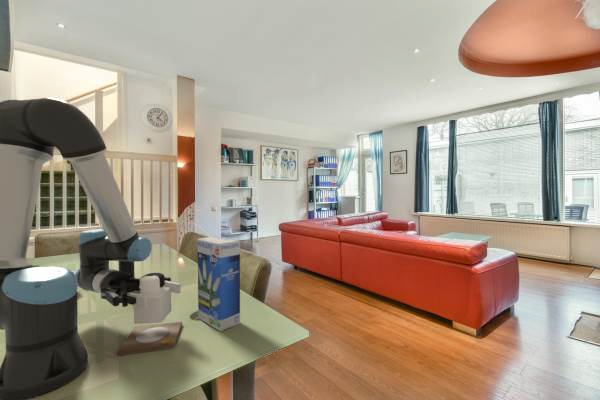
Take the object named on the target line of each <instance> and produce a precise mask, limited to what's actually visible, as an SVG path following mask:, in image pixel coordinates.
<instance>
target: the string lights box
mask: <svg viewBox="0 0 600 400" xmlns="http://www.w3.org/2000/svg"><path fill="white" fill-rule="evenodd" d="M196 240H197V298H198V299H197V301H198V302H197V305H198V306H197V307H198V308H197V310H198V311H197V312H198V315H197V316H198V319H199V320H201V321H203V322H204V323H206V324H208V325H209V326H210V327H213V328H214V329H216V331H219V332H222V331H225V330H227V329H230V328H232V327H235V326H237V325H240V323H241V241H240V240H234V239H231V238H227V237H220V236H217V235H216V236H209V237H200V238H197V239H196Z"/></svg>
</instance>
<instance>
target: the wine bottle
mask: <svg viewBox="0 0 600 400" xmlns="http://www.w3.org/2000/svg"><path fill="white" fill-rule="evenodd" d="M117 262H118V263H117V264H118V271H122V272H127V273H129V274H130V275H131V276H132V277H133V278H136V276H135V275H136V274H135V262H129V261H117Z"/></svg>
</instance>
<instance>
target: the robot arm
mask: <svg viewBox="0 0 600 400" xmlns="http://www.w3.org/2000/svg"><path fill="white" fill-rule="evenodd" d="M55 148H56V149H57V150H58V151H59V152H60V155H61V157H62V158H63V160H66V161H68V162H70V165H72V168H73V170H74V172H75V174H76V176H77V178H78V180H79V182H80V184H81V186H82V188H83V190H84V193H85V194H86V196H87V198H88V200H89V203H90V204H91V207H92V208H93V211H94V213H95V215H96V217H97V219H98V221H99V224H101V228H102V229H101V228H100V229H98V228H97V229H89V230H84V231H81V232H80V233H79V235H78V250H79V251H78V253H79V254H78V255H79V268H78V269H77V270H76V271H77V272H76V274H74V273H73V272H72V271H73V270H71V269H69V268H66V267H61V266H46V267H45V266H36V267H33V266H34V264H33V263H32V262H31V261H30V260H28V258H27V254H28V250H29V249H28V248H29V244H30V238H31V233H32V227H33V221H34V215H35V209H36V205H37V201H38V194H39V188H40V183H41V177H42V171H43V166H44V164H45V163H47V162H50V161H51V160H53V156H54V150H55ZM106 151H107V146H106V143H105V141H104V138H103V137H102V135H101V133H100V131H99V129H98V128H97V127H96V126H95V124H94V123H93V122H92V120H91V119H90V118H89V117H88V116H87V115H86V113H84V112H83V111H81V110H80V109H79V108H78V107H77V106H75V105H74V104H72V103H70V102H67V101H65V100H64V99H59V98H55V97H41V98H40V97H39V98H32V99H6V100H2V101H0V331H2V330H3V331H4V333H5V334H4V335H5V337H4V338H5V340H4V341H5V354H4V357H3V360H2V362H1V365H0V400H27V399H31V398H34V397H37V396H38V397H39V396H41V395H44V394H47V393H49V392H52V391H54V390H56V389H59V388H61V387H63V386H64V385H66V384H68V383H70V382H71V381H73V380H75V379H76V378H78V377H79V376H80V375H81V374H82V373H84V371H85V370H86V368H88V365H89V353H88V350H87V348H86V346H85V344H84V342H83V339H82V338H81V336H80V334H79V331H78V330H79V329H78V327H79V325H78V292H77V290H78V289H77V286H78V288H81V289H82V290H83V291H88V292H93V293H97V294H100V299H104V300H106V301H107V302H109V304H110V305H112V306H113V307H118V306H120V304H122V305H121V306H122V307H121V308H127V307H128V305H132V306H134V305H136V306H140V307H143V308H146V307H148V304H147V296H143V295H139V293H134V292H140V278H141V277H139V278H138V277H137V278H136V277H135V278H133V277H132V276H131V275H130V274H129V273H127V272H122V271H119V269H118V270H117V269H112V268H110V261H113V262H115V261H117V262H118V261H129V262H134V263H135V262H144V261H145V260H147V259H148V257H150V255H151V254H152V247H153V245H152V242H151V240H150V239H149V238H148V237H144V236H139V233H138V230H137V229H136V226H135V222H134V221H133V218H132V217H131V213H130V211H129V209H128V206H127V205H126V202H125V200H124V197H123V195H122V193H121V190H120V189H119V185H118V184H117V183H118V182H117V181H116V179H115V176H114V174H113V171H112V169H111V167H110V165H109V162H108V160H107V157H106V155H105V153H106ZM164 277H165V287H170V288H171V293H174V294H181V293H182V292H181V290H182V289H181V283H178V282H173V281H172V278H171V277H169V276H168V277H167V276H164Z"/></svg>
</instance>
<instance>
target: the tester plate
mask: <svg viewBox="0 0 600 400" xmlns="http://www.w3.org/2000/svg"><path fill="white" fill-rule="evenodd" d="M182 326H183V322H182V321H177V322H167V323H159V324H158V323H157V324H151V325H150V324H149V325H141V326H134V328H133V329H132V330H131V332H130V333H129V334H128V335H127V337H126V338H125V340H124V341H123V343H122V344H121V345H120V347H119V348H118V350H117V351H116V356H117V357H118V356H125V355H132V354H140V353H148V352H155V351H164V350H169V349H174V347H175V345H176V343H177V340H178V337H179V334H180V332H181V329H182Z"/></svg>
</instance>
